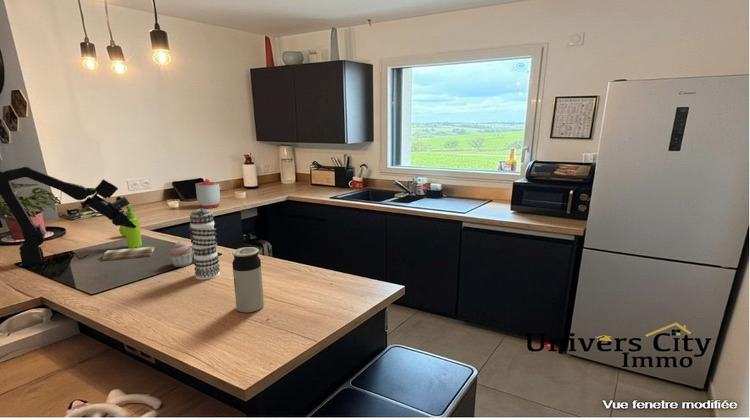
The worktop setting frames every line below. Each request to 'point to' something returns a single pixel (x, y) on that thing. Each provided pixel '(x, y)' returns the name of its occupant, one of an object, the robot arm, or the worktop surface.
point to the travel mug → (247, 279)
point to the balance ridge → (128, 253)
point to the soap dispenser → (132, 229)
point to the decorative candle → (204, 244)
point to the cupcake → (181, 254)
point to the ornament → (122, 230)
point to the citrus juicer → (208, 194)
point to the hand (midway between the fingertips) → (134, 226)
